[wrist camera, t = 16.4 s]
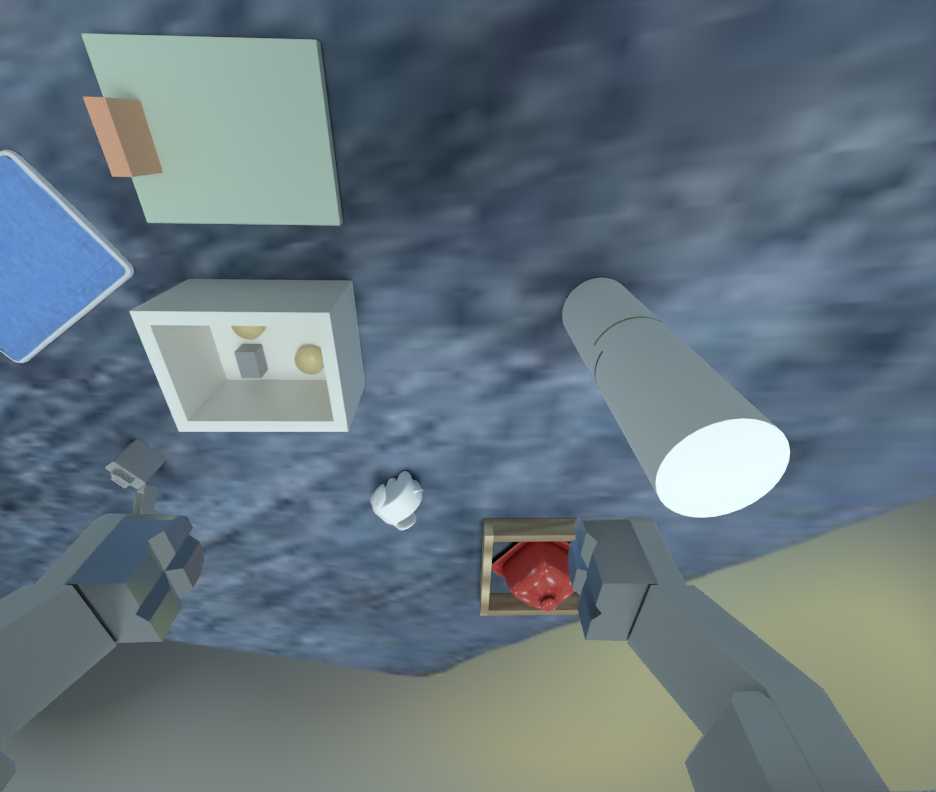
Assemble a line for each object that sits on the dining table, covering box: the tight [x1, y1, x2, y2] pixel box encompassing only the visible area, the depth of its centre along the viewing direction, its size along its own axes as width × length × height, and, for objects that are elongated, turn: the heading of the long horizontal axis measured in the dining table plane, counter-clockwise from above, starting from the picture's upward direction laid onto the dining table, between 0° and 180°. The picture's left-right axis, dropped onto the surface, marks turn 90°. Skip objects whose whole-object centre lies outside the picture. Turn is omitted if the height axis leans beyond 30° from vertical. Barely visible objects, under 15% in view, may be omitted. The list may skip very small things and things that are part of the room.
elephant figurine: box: [371, 471, 423, 530], centre depth 54 cm, size 7×8×6 cm
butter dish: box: [491, 541, 575, 612], centre depth 62 cm, size 12×12×8 cm
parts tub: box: [129, 279, 365, 432], centre depth 42 cm, size 12×16×9 cm
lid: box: [81, 34, 343, 225], centre depth 34 cm, size 13×17×6 cm
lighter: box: [105, 439, 166, 515], centre depth 51 cm, size 7×2×8 cm, turn 35°
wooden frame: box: [480, 518, 580, 616], centre depth 65 cm, size 18×17×3 cm
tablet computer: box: [0, 150, 134, 363], centre depth 41 cm, size 19×13×1 cm, turn 121°
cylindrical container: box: [562, 277, 790, 518], centre depth 34 cm, size 7×7×25 cm
